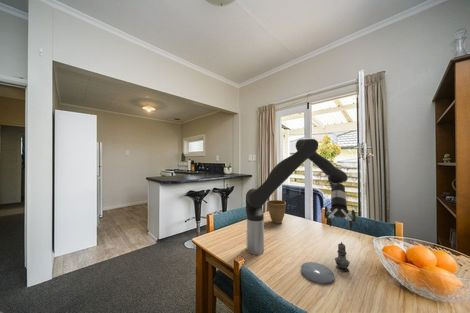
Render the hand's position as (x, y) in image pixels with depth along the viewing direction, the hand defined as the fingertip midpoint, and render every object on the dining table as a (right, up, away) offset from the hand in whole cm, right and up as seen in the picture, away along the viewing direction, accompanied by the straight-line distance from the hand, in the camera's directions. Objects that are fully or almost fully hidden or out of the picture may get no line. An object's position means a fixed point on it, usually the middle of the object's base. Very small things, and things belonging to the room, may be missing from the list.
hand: (340, 227), depth 87 cm
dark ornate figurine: (-5, -15, -10) cm, 18 cm away
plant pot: (-20, -17, +50) cm, 56 cm away
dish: (-18, -15, -13) cm, 26 cm away
